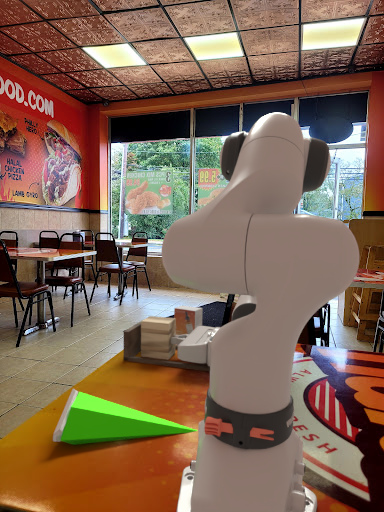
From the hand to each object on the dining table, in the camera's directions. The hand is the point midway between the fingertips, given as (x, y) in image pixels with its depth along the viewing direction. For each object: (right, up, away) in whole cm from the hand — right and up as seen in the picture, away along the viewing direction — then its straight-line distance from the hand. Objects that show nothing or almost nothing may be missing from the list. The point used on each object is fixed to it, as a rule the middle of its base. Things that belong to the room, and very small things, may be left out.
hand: (172, 339), depth 100 cm
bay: (0, -6, 0) cm, 6 cm away
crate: (-4, -5, +1) cm, 6 cm away
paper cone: (-7, -9, -33) cm, 35 cm away
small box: (+4, -5, +20) cm, 21 cm away
